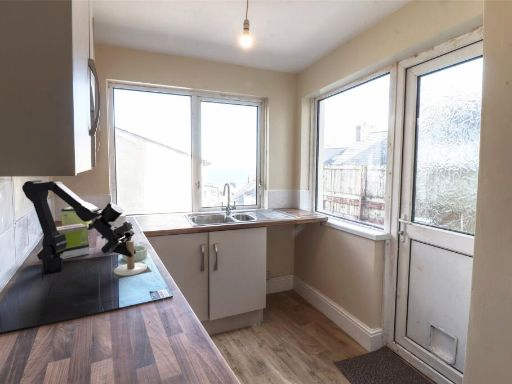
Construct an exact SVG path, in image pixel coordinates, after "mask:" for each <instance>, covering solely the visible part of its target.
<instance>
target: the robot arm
mask: <svg viewBox="0 0 512 384" xmlns="http://www.w3.org/2000/svg"><path fill="white" fill-rule="evenodd" d="M21 188H22V189H21V190H22V192H23V193H24V195H25V197H26V198H27V199H28V200H29V201H30V202H31V203H32V205H33V208H34V210H35V214H36V216H37V219H38V222H39V226H40V228H41V232H42V234H43V238H42V241H41V246H42V249H41V250H40V251H39V252H38V253H37V255H36V257H37V259H38V260H42V262H41V263H42V274H43V275H45V274H49V273H50V274H51V273H56V272H61V271H62V269H63V268H64V266H63V264H64V263H63V259H62V257H61V258H60V254H63V253H64V249H65V248H66V247H67V242H68V241H67V240H66V237H65V234H60V233H59V232H58V231H57V228H56V227H57V226H56V222H55V220H54V217H53V214H52V211H51V208H50V204H49V203H48V196H49V191H51V192H52V193H54V194H55V195H56V196H57V197H59V198H60V199H61V200H62V201H63V202H65V203H66V204H67V205H68V206H69V207H72V208H73V209H74V210H75V213H76V215H77V216H78V217H79V218H80V219H81V220H82V221H84V222H88V221H91V220H92V223H89V224H88V225H89V227H88V231H91V230H95V231H96V232H98V233H99V235H101V237H100V238H101V240H103V239H105V240H106V241H107V242H106V243H105V244H104V245H103V246H101V249H100V250H101V253H102V254H104V255H107V254H109V253H110V250H111V253H114V254H118V255H121V256H122V255H125V256H128V257H132V256H133V255H132V254H131V252H130V251H129V250H128V249H127V248H126V241H132V238H133V236H134V235H135V234H136V232H134V230H133V223H132V222H130V221H128V220H126V222H124V223H123V225H122V226H120V227H118V226H113V225H112V224H111V223H110V222H115V221H116V220H117V218H118V217H119V216H120V215H121V214H124V209H123V208H122V207H121V206H119V205H117V204H115V203H114V202H112V201H110V202H108V203H107V205H106V206H105V207H104V208H99V207H98V206H95V205H94V204H92V203H90V202H87V201H85V200H83V199H82V198H80V197H79V196H78V195H77V194H76V193H74V192H73V191H72V190H71V189H69V188H68V187H67V185H64V183H63V182H62V181H61V180H51V181H44V180H41V179H38V180H37V179H36V180H28V181H25V182H23V185H21ZM111 248H112V249H113V250H112V249H111ZM135 254H136V251H135V250H134V255H135Z"/></svg>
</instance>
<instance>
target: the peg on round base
mask: <svg viewBox="0 0 512 384" xmlns="http://www.w3.org/2000/svg"><path fill="white" fill-rule="evenodd" d="M134 246H135V245H134V240H131V241H126V248H127V249H128V250H129V251H130V252H131V254H132V255H133V256H132V257H128V256H127V261H126V264H122V265H120V266H117V268H116V267H115V268H116V269H115V270H114V273H115V274H116V275H119V276H129V277H131V276H130V275H134V276H137V275H136V274H139V273H142V272H144V271H146V270H147V266H148V265H147V264H146V263H145V264H143V263H142V262H135V261H134ZM139 275H140V274H139Z"/></svg>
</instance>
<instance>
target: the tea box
mask: <svg viewBox="0 0 512 384" xmlns="http://www.w3.org/2000/svg"><path fill="white" fill-rule="evenodd" d="M56 228H57V231H58V232H59V233H60V234H65V237H66V240H67V241H68V242H67V247H66V248H65V249H64V253H63V254H60V258H61V257H62V260H65V259H70V258H75V257H80V256H85V255H88V254H89V255H90V253H91V252H90V239H89V232H88V231H89V230H88V229H87V226H86V225H84V224H75V225H68V226H56Z"/></svg>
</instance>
